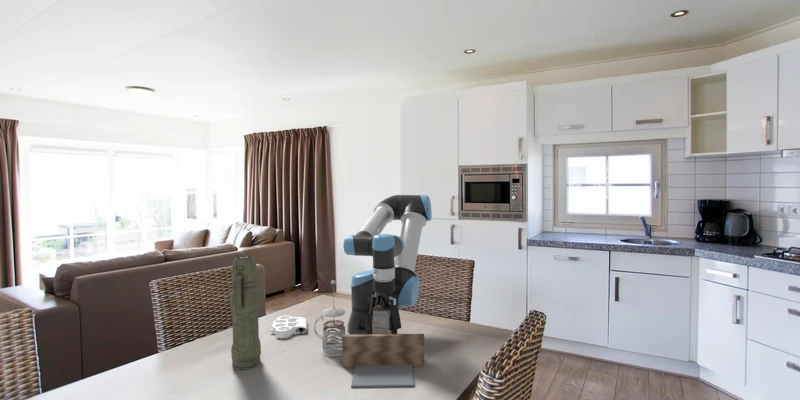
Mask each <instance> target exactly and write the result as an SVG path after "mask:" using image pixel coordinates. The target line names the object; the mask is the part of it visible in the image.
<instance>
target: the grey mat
mask: <svg viewBox="0 0 800 400" xmlns="http://www.w3.org/2000/svg"><path fill="white" fill-rule="evenodd" d="M414 381H415V380H414V375H413V366H412V365H355V367H354V371H353V375H352V380H351V384H350V386H351V387H350V388H353V389H354V388H358V389H359V388H414V387H415V383H414Z"/></svg>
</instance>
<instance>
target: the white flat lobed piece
mask: <svg viewBox="0 0 800 400" xmlns="http://www.w3.org/2000/svg"><path fill="white" fill-rule="evenodd" d="M307 324H308V323H307V318H305V317H303V316H297V317H295V316H293V317H292V316H291V315H281V316H278V317H276V319H275V320H273V322H272V324H271V325H269V327H271V329H269V330H268V332H270V333H272V335H274V334H275V335H274V337H276V339H278V338H284V339H287V338H291V335H292V336H293V334H294V335H300V334H299V328H301V329H302V328H303V334H305V333H307V332H308V327H307V326H308V325H307Z"/></svg>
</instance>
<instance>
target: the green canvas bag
mask: <svg viewBox="0 0 800 400" xmlns="http://www.w3.org/2000/svg"><path fill="white" fill-rule="evenodd" d="M257 280H258V265H257V262H256V260H255V258H254V257H253V256H251V255H241V256H236V257H235V258H233V261H232V264H231V283H232V286H231V293H230V295H229V299H230V301H229V302H230V313H231V317H232V321H231V322H232V323H231V324H232V344H231V347H230V349H231V351H230V352H231V360H232V363H231V366H232V368H233V367H234V369H235V368H238V369H237V370H245V369H244V368H249V369H252V368H255V367H256V365H257V366H259V364H260V363H261V355H262V347H261V340H260V337H259V335H260V333H259V330H260V329H259V328H260V327H259V311H260V307H261V306H260V304H261V303H260V302H261V301H260V291H259V288H258V283H257ZM254 366H255V367H254ZM251 367H252V368H251Z"/></svg>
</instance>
